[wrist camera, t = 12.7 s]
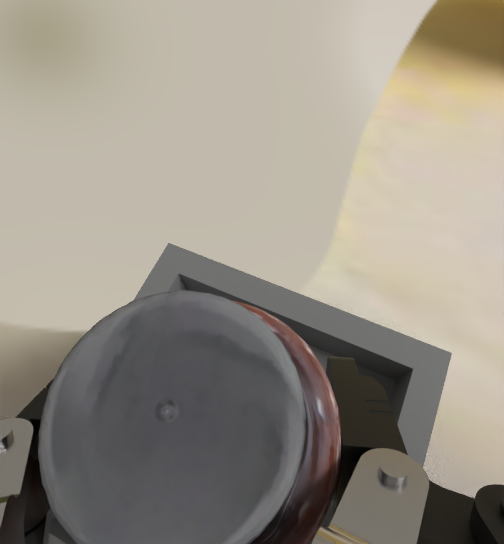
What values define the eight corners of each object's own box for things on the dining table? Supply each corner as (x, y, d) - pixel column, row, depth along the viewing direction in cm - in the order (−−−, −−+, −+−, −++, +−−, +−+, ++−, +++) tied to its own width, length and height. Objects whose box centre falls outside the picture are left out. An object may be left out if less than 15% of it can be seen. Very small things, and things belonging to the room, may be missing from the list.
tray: (422, 371, 19) (451, 353, 16) (328, 710, 14) (343, 780, 11) (184, 274, 22) (168, 242, 19) (39, 528, 17) (-15, 542, 14)
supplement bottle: (153, 536, 15) (-117, 685, 5) (167, 372, 17) (13, 240, 7) (317, 536, 15) (410, 694, 4) (306, 370, 17) (347, 227, 7)
